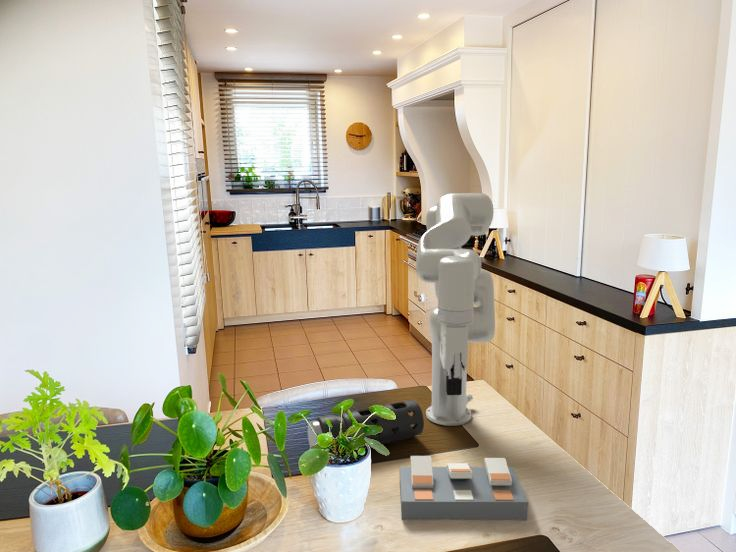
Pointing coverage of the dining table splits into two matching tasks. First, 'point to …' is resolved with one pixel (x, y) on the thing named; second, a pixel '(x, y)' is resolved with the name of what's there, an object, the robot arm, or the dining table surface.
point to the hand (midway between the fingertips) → (453, 393)
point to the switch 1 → (421, 472)
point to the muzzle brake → (375, 423)
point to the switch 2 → (459, 471)
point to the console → (462, 497)
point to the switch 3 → (497, 471)
